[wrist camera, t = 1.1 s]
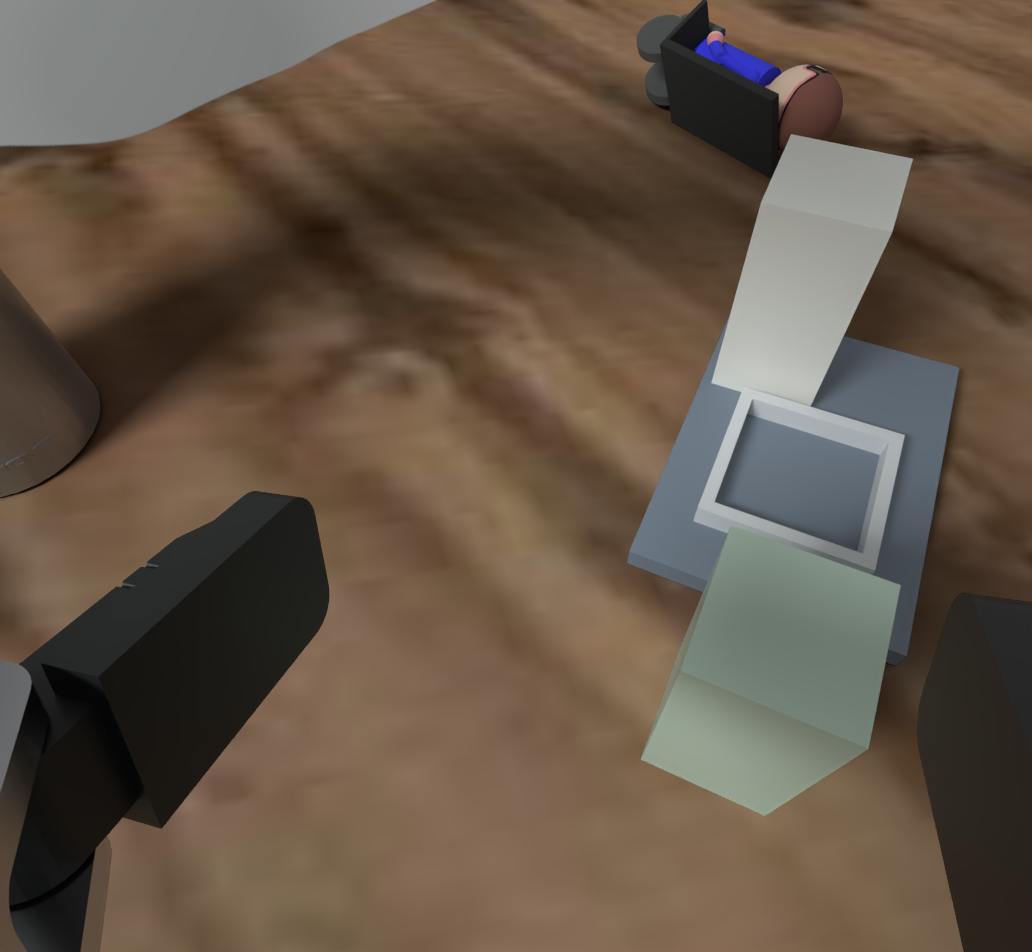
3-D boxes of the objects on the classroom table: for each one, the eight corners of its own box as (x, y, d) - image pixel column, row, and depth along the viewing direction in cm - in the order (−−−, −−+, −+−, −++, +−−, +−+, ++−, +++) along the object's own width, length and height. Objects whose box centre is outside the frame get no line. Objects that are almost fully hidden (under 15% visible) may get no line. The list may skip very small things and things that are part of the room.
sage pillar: (640, 759, 29) (680, 670, 20) (679, 649, 31) (731, 525, 22) (764, 815, 28) (868, 749, 19) (795, 696, 30) (900, 585, 21)
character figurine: (677, 84, 57) (832, 172, 50) (608, 112, 54) (762, 209, 47) (700, -32, 50) (881, 52, 44) (623, -6, 48) (803, 87, 41)
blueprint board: (627, 563, 34) (631, 538, 32) (729, 321, 42) (737, 289, 40) (895, 666, 31) (919, 646, 29) (948, 382, 39) (970, 351, 37)
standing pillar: (711, 383, 38) (761, 202, 29) (737, 319, 40) (791, 134, 31) (807, 412, 37) (892, 232, 27) (828, 345, 39) (913, 158, 30)
